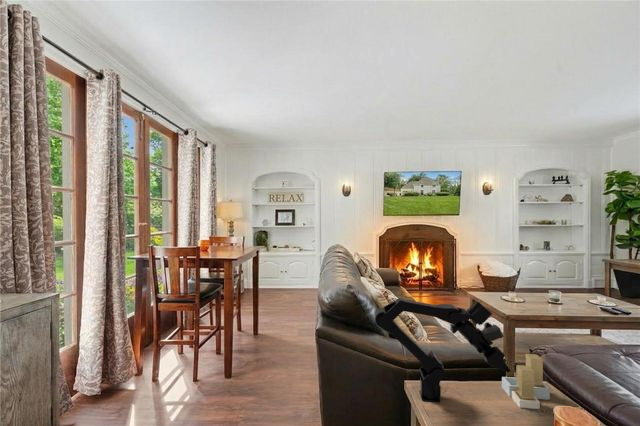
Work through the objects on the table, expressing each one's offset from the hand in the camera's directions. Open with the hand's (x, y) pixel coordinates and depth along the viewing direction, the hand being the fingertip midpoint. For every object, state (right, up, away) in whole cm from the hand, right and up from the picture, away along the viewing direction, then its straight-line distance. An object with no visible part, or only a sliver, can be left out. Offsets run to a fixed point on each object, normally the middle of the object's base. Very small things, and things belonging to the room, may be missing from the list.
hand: (503, 365), depth 117 cm
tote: (+7, -13, -1) cm, 15 cm away
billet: (+7, -13, -1) cm, 15 cm away
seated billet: (+14, -11, +5) cm, 19 cm away
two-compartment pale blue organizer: (+11, -13, +5) cm, 18 cm away
